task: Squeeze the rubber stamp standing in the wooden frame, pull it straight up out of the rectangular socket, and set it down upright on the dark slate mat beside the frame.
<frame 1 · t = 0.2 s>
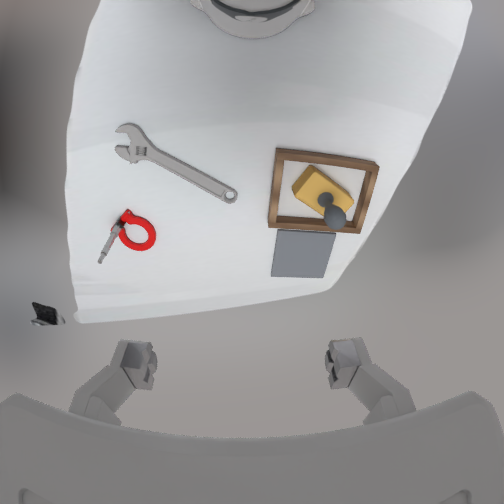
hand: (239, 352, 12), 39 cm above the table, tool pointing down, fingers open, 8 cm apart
rubber stamp: (320, 189, 49), resting in wooden frame
wooden frame: (321, 190, 49), on the table
slate mat: (302, 254, 58), on the table
tow hook: (136, 230, 54), on the table
adjustable wrench: (173, 165, 46), on the table
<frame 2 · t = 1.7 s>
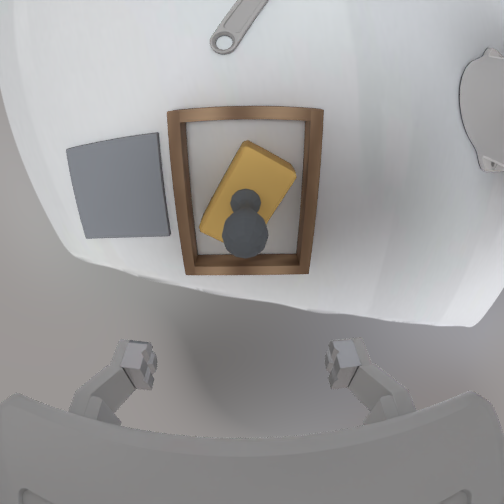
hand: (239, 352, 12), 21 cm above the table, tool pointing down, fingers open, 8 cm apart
rubber stamp: (246, 190, 29), resting in wooden frame
wooden frame: (246, 191, 29), on the table
slate mat: (116, 189, 28), on the table
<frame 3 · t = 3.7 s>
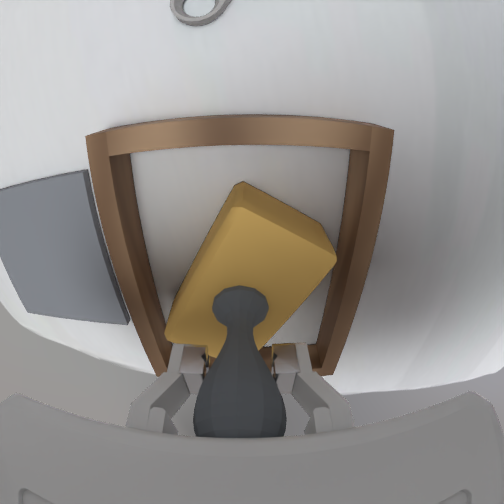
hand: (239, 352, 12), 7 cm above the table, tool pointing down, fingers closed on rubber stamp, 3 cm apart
rubber stamp: (241, 265, 18), resting in wooden frame, touching gripper
wooden frame: (241, 267, 17), on the table
slate mat: (46, 256, 17), on the table
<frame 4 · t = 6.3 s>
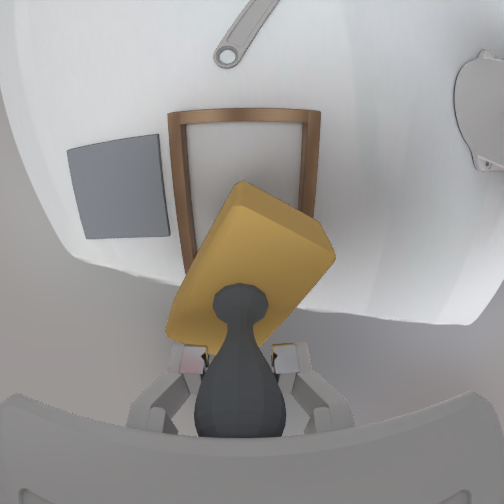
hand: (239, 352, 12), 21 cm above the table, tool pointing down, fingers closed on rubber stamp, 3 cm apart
rubber stamp: (241, 264, 18), point 14 cm above the table, touching gripper
wooden frame: (244, 191, 30), on the table
slate mat: (116, 190, 29), on the table
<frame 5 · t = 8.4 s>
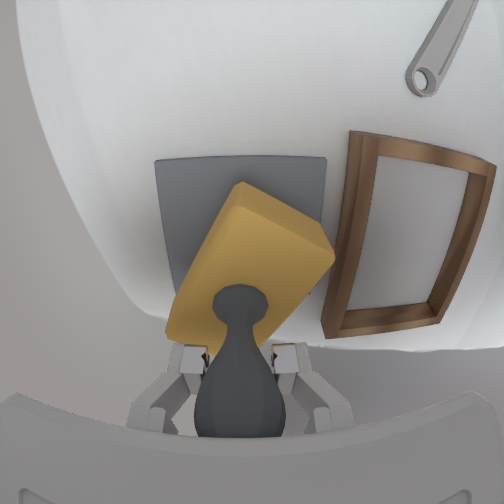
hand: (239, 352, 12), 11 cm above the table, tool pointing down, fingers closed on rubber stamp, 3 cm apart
rubber stamp: (241, 264, 18), point 4 cm above the table, touching gripper
wooden frame: (407, 242, 22), on the table
slate mat: (241, 231, 21), on the table
when the fingers open (9 cm above the table, at t = 9.3 s): rubber stamp moves 3 cm, point 2 cm above the table.
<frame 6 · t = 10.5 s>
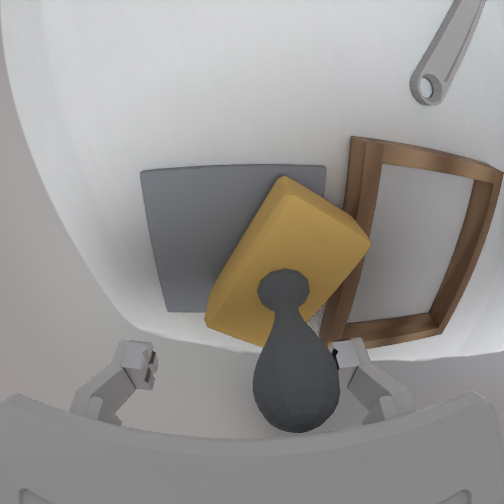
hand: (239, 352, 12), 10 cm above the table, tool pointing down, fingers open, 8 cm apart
rubber stamp: (278, 255, 19), point 2 cm above the table, touching gripper
wooden frame: (409, 253, 21), on the table
slate mat: (234, 246, 20), on the table
adjustable wrench: (456, 0, 9), on the table
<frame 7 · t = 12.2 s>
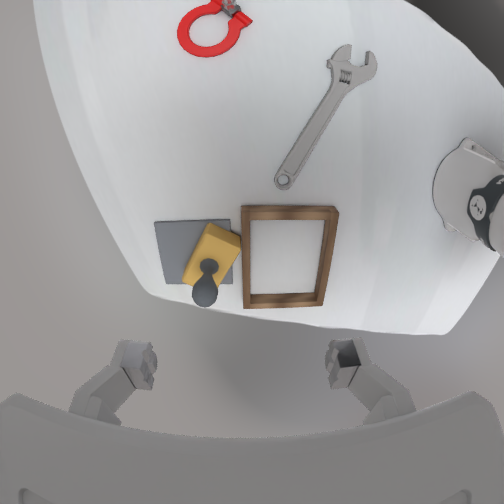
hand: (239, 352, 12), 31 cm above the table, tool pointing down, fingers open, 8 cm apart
rubber stamp: (211, 253, 45), resting on slate mat
wooden frame: (285, 257, 46), on the table
slate mat: (195, 253, 45), on the table
tow hook: (211, 29, 27), on the table
adjustable wrench: (317, 110, 34), on the table
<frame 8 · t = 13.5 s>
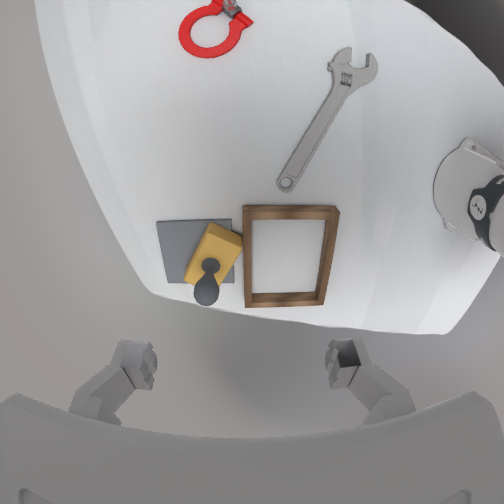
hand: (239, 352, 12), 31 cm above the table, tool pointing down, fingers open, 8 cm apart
rubber stamp: (213, 252, 45), resting on slate mat
wooden frame: (286, 256, 46), on the table
slate mat: (196, 252, 45), on the table
tow hook: (212, 30, 27), on the table
adjustable wrench: (319, 112, 34), on the table
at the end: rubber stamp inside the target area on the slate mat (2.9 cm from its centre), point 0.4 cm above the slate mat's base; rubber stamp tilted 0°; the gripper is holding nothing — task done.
